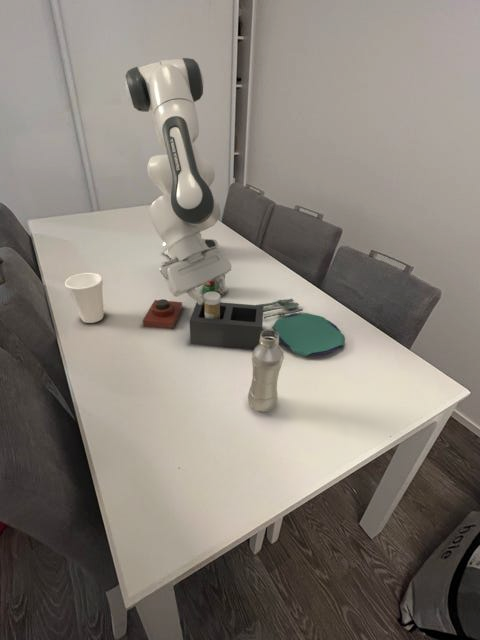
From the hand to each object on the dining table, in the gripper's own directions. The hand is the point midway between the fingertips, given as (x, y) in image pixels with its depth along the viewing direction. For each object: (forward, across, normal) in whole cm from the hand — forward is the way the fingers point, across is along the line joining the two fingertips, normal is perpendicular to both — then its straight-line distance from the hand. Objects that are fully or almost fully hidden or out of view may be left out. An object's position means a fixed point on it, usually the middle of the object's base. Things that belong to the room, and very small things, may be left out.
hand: (214, 297), depth 91 cm
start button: (-6, -4, +19) cm, 21 cm away
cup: (-14, -20, +32) cm, 40 cm away
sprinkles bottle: (+9, 0, +10) cm, 13 cm away
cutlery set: (+20, +21, -2) cm, 29 cm away
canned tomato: (-4, +18, +22) cm, 29 cm away
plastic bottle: (+28, -11, -10) cm, 32 cm away
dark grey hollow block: (+11, +2, +7) cm, 13 cm away
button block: (-4, -4, +22) cm, 23 cm away
